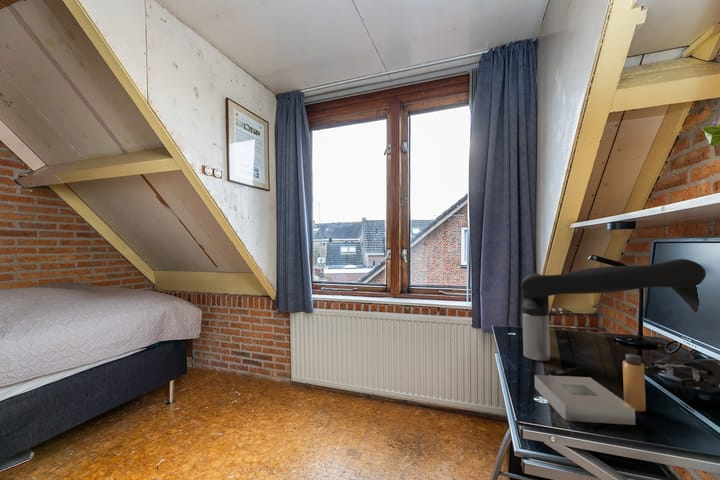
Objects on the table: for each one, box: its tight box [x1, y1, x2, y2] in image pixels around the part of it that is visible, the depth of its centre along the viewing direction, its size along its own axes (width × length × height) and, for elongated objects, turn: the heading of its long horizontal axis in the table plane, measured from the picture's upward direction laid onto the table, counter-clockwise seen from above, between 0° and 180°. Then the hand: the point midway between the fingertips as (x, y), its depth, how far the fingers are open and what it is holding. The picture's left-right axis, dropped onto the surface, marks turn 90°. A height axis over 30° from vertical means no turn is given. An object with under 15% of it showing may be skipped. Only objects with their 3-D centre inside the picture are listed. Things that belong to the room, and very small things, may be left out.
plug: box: [622, 353, 647, 412], centre depth 83 cm, size 4×4×14 cm
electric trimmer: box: [545, 366, 586, 377], centre depth 102 cm, size 4×16×3 cm, turn 107°
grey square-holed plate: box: [534, 374, 636, 426], centre depth 85 cm, size 18×16×4 cm
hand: (662, 376), depth 84 cm, fingers open, 8 cm apart
